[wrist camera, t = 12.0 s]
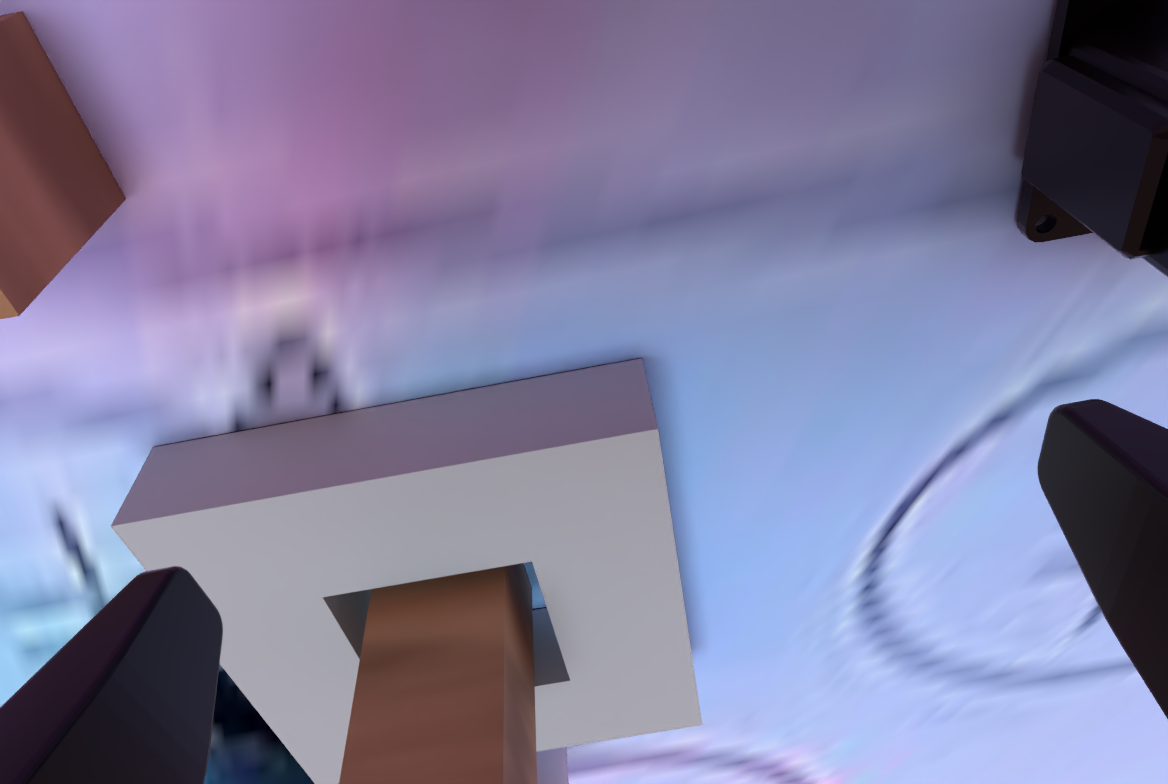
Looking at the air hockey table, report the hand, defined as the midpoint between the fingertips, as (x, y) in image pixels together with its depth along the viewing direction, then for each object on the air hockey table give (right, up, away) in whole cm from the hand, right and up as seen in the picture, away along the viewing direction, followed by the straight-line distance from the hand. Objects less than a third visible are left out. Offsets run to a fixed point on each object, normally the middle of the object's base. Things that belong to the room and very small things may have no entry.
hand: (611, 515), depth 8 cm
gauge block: (-4, -7, +20) cm, 21 cm away
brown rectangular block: (-4, -4, +18) cm, 19 cm away
